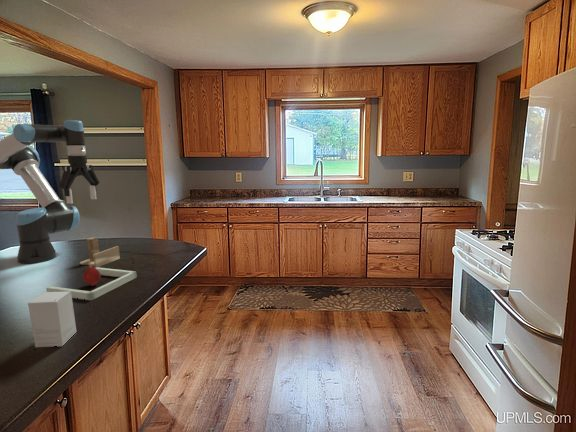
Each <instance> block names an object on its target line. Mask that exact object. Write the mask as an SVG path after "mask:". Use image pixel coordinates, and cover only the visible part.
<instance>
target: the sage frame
mask: <svg viewBox="0 0 576 432" xmlns="http://www.w3.org/2000/svg"><path fill="white" fill-rule="evenodd" d="M96 269H97V270H99V272H100V274H101V276H105V277H106V276H107V277H117V278H115V279H114V280H111V281H109V282H107V283H105V284H103V285H101V286H98V287H97V288H95V289H93V290H90V291H89V290H83V289H82V290H81V289H74V288H67V287H66V288H65V287H57V286H52V285H50V286H47V287H46V292H67V291H71V295H72V299H77V298H78V300H84V299H85V301H93V300H95V299H97V298H99V297H101V296H103V295H105V294H107V293H109V292H112V291H113V290H115V289H118V288H119V287H121V286H122V285H125V284H127V283H128V282H131V281H133V280H135V279H137V277H138V275H137V271H134V270H125V269H116V268H115V269H114V268H105V267H96Z"/></svg>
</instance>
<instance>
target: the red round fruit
mask: <svg viewBox="0 0 576 432" xmlns="http://www.w3.org/2000/svg"><path fill="white" fill-rule="evenodd" d="M101 276H102V275H101V274H100V272H99V270H97V269H96V268H94V266H92V265H88V268H87V269H86V270H84V272H83V275H82V279H83V281H84V283H86V284H88V285H90V286H92V287H94V286H95V285H96V284H98V283H99V281H100V280H101V278H102V277H101Z"/></svg>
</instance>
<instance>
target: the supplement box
mask: <svg viewBox="0 0 576 432" xmlns="http://www.w3.org/2000/svg"><path fill="white" fill-rule="evenodd" d="M73 303H74V302H73V298H72V295H71V291H67V292H47V291H44V292H43V293H41V294H40V295H38V296H36V297H35V298H34V299H32V300H31V301H29V302H28V303H27V305H28V311H29V316H30V322H31V330H32V335H33V341H34V342H33V343H34V347H35V348H51V347H52V348H53V347H54V346H57V347H64V346H65V345H66V344H67V343H68V342H69V341H70V340H71V339H72V338H73V337H74V336H75V335H76V334H77V333H76V332H78V331H77V326H76V325H77V324H76V318H75V311H74V304H73ZM75 333H76V334H75ZM74 334H75V335H74ZM73 335H74V336H73ZM72 336H73V337H72ZM71 337H72V338H71ZM70 338H71V339H70ZM69 339H70V340H69ZM68 340H69V341H68ZM67 341H68V342H67ZM66 342H67V343H66ZM65 343H66V344H65ZM64 344H65V345H64ZM63 345H64V346H63Z"/></svg>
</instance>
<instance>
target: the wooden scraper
mask: <svg viewBox="0 0 576 432" xmlns="http://www.w3.org/2000/svg"><path fill="white" fill-rule="evenodd" d="M86 241H87V249H88V259H85V260H83V261H80V262H79V265H85V266H92V267H94V268H96V267H99V268H101V267H102V266H104V265H106V264H110V263H112V262H114V261H117V260H119V259H121V257H120V256H121V255H120V247H119V245H115V246H113V247H110V248H107V249H105V250H102V251H100V248H99V247H100V245H99V238H98V237H93V236H92V237H90V238H87V239H86Z"/></svg>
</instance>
